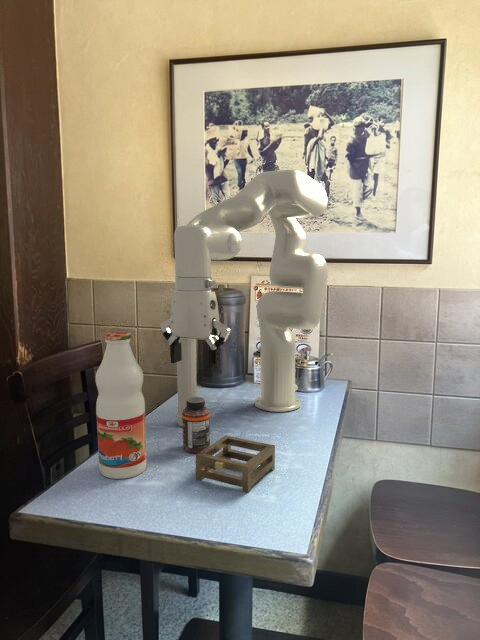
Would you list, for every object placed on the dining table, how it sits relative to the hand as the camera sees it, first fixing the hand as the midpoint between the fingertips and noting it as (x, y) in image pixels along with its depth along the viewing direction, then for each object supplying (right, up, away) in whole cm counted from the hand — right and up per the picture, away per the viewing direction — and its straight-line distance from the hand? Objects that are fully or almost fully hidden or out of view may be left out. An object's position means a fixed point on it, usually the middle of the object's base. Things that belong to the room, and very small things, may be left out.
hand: (194, 364), depth 113 cm
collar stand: (+9, -21, -10) cm, 25 cm away
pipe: (-4, -17, +19) cm, 25 cm away
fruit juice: (-14, -21, -7) cm, 26 cm away
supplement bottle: (0, -19, +3) cm, 19 cm away
